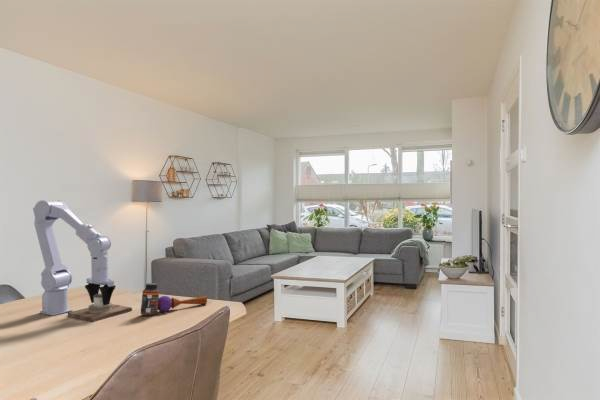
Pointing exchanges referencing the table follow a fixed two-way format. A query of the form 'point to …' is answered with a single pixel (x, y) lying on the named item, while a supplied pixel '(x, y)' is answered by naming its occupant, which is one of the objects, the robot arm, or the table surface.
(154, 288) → the supplement bottle
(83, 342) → the table surface
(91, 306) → the board with ring socket
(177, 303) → the kendama
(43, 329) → the table surface
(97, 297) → the plug
